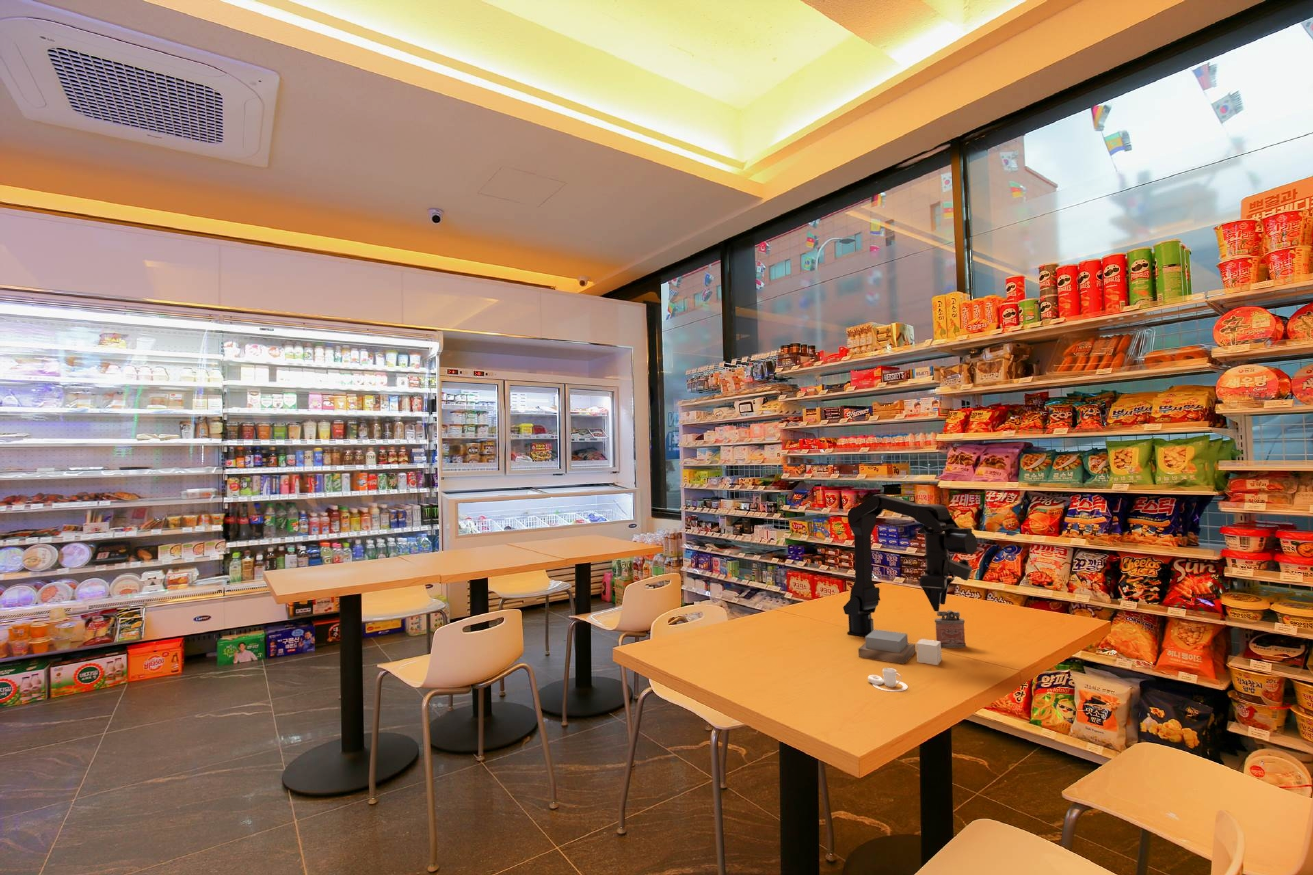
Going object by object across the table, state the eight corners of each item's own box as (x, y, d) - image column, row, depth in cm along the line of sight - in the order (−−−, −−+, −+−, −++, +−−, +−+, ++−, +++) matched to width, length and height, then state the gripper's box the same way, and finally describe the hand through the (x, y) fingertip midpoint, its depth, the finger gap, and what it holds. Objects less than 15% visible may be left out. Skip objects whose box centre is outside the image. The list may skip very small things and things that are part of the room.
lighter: (963, 643, 178) (961, 609, 179) (967, 647, 175) (965, 611, 175) (934, 644, 179) (932, 609, 179) (938, 647, 176) (936, 612, 176)
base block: (858, 659, 170) (858, 648, 170) (872, 648, 179) (871, 637, 179) (904, 666, 162) (903, 655, 163) (915, 654, 172) (915, 644, 172)
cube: (917, 662, 164) (916, 643, 164) (921, 657, 168) (921, 638, 168) (937, 665, 161) (936, 645, 161) (941, 660, 165) (940, 641, 165)
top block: (865, 647, 170) (865, 636, 170) (874, 639, 177) (874, 629, 177) (899, 652, 165) (899, 641, 165) (907, 644, 172) (907, 633, 172)
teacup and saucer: (863, 683, 150) (862, 666, 150) (888, 678, 153) (887, 661, 154) (889, 695, 142) (888, 677, 142) (915, 689, 145) (914, 672, 145)
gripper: (963, 557, 158) (967, 618, 157) (973, 547, 173) (976, 603, 172) (917, 554, 164) (920, 613, 163) (931, 545, 179) (934, 599, 178)
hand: (939, 607), depth 169 cm, fingers open, 9 cm apart
